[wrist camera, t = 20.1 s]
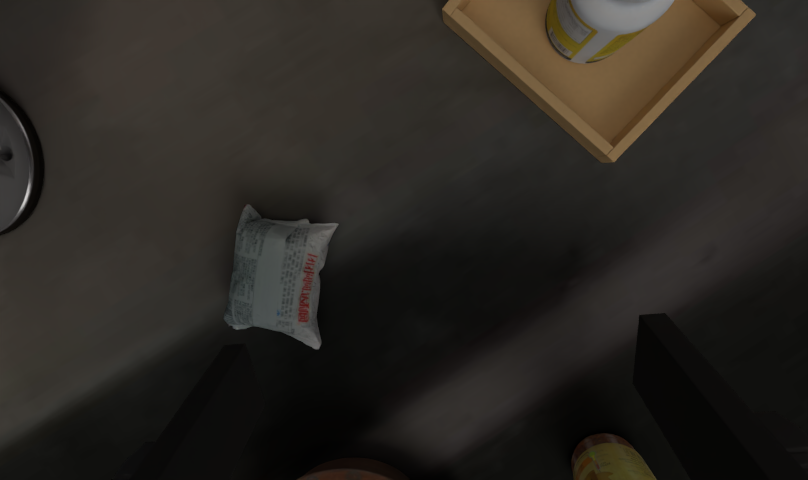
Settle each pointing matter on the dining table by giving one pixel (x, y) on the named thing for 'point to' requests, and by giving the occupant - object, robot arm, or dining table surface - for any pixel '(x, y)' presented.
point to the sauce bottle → (608, 460)
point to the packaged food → (278, 275)
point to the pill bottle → (598, 25)
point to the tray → (599, 64)
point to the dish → (354, 470)
